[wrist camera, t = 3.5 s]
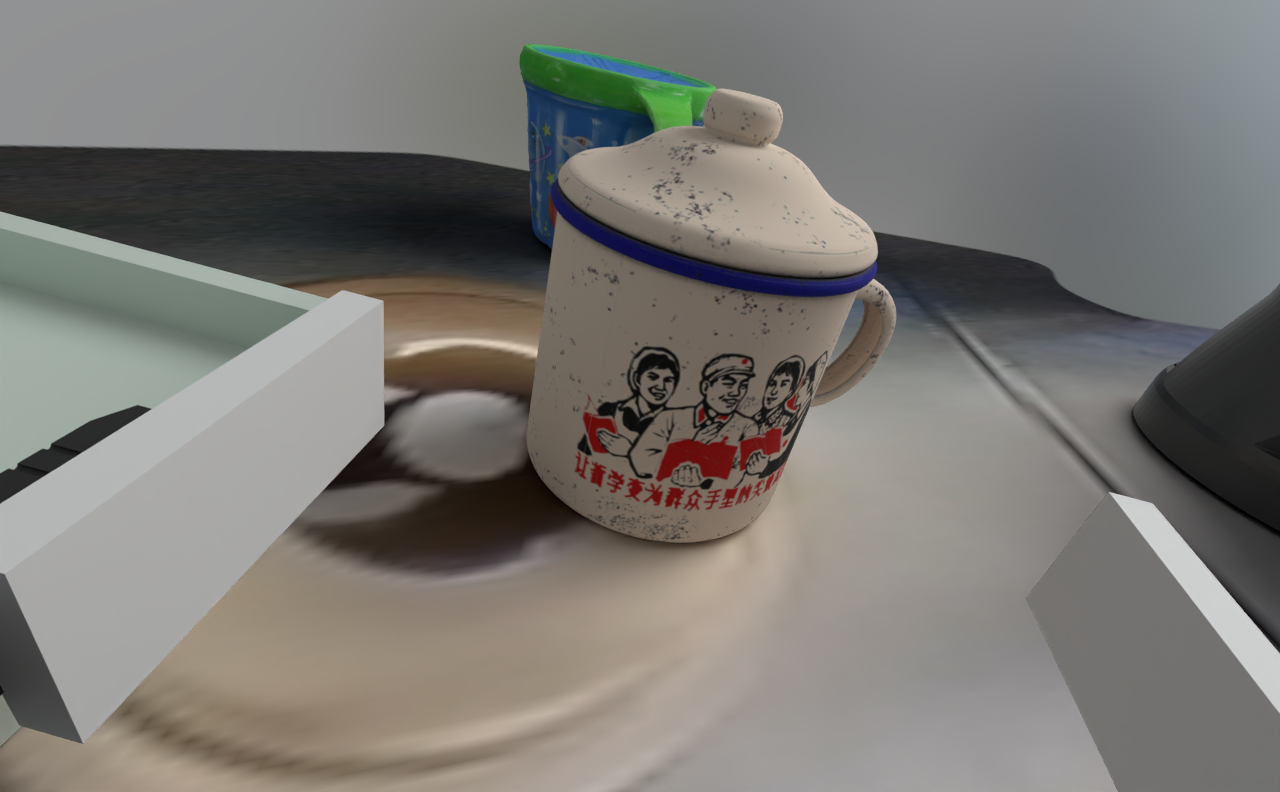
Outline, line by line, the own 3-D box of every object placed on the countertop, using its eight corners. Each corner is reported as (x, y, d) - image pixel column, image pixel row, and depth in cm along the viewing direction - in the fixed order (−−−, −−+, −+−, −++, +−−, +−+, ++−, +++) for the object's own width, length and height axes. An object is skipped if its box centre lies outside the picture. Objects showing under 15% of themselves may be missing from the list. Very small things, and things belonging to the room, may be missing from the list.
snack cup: (488, 196, 43) (501, 27, 38) (631, 212, 47) (662, 61, 42) (530, 296, 31) (558, 68, 26) (718, 306, 35) (776, 110, 30)
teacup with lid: (540, 567, 17) (623, 95, 11) (503, 383, 24) (541, 37, 18) (899, 540, 21) (1105, 188, 15) (776, 389, 28) (882, 111, 22)
